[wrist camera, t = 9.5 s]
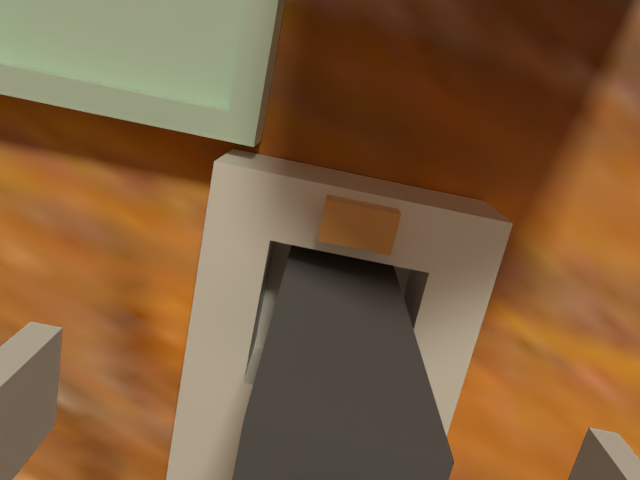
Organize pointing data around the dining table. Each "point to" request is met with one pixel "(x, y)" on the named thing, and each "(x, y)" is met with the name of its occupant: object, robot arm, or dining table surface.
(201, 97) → the tray
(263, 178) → the beige flat rimmed piece
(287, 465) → the plug
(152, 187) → the dining table surface
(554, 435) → the dining table surface
